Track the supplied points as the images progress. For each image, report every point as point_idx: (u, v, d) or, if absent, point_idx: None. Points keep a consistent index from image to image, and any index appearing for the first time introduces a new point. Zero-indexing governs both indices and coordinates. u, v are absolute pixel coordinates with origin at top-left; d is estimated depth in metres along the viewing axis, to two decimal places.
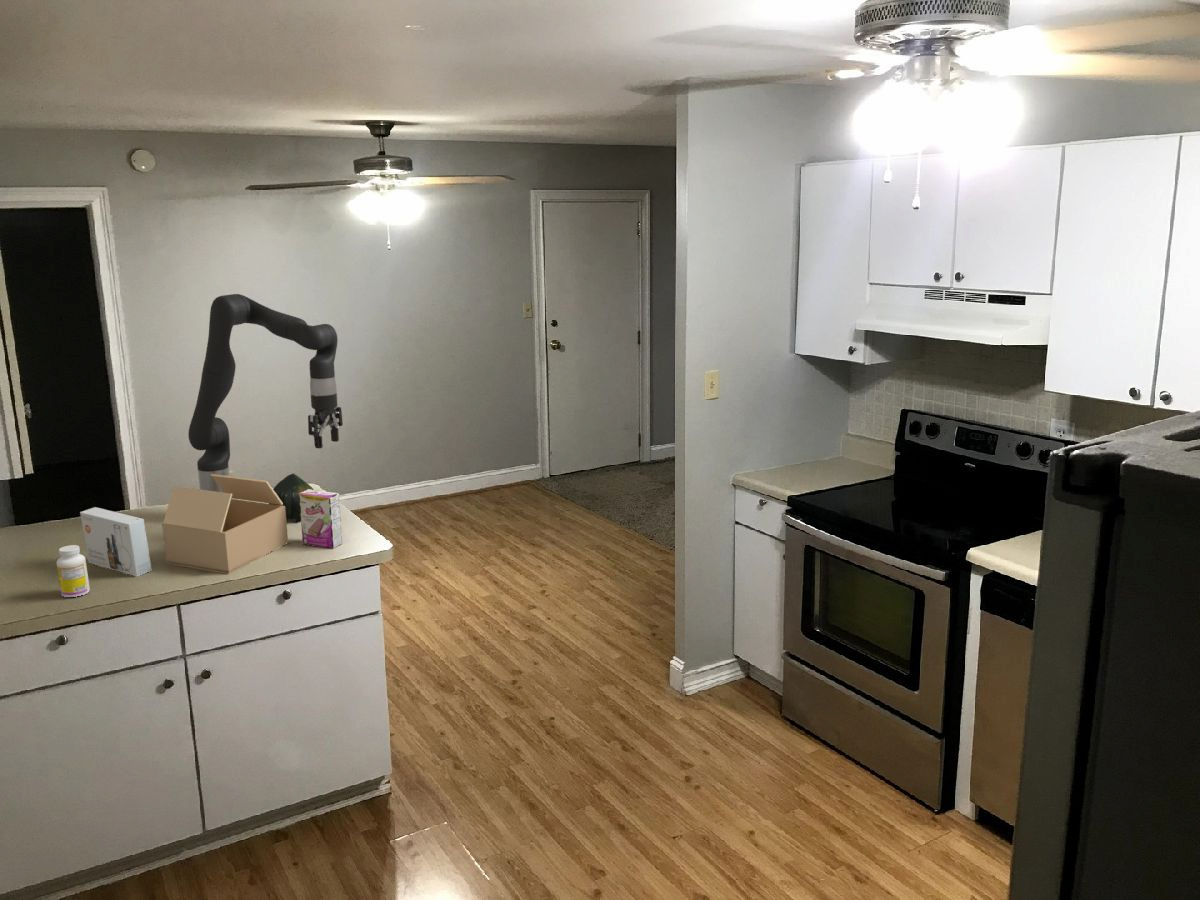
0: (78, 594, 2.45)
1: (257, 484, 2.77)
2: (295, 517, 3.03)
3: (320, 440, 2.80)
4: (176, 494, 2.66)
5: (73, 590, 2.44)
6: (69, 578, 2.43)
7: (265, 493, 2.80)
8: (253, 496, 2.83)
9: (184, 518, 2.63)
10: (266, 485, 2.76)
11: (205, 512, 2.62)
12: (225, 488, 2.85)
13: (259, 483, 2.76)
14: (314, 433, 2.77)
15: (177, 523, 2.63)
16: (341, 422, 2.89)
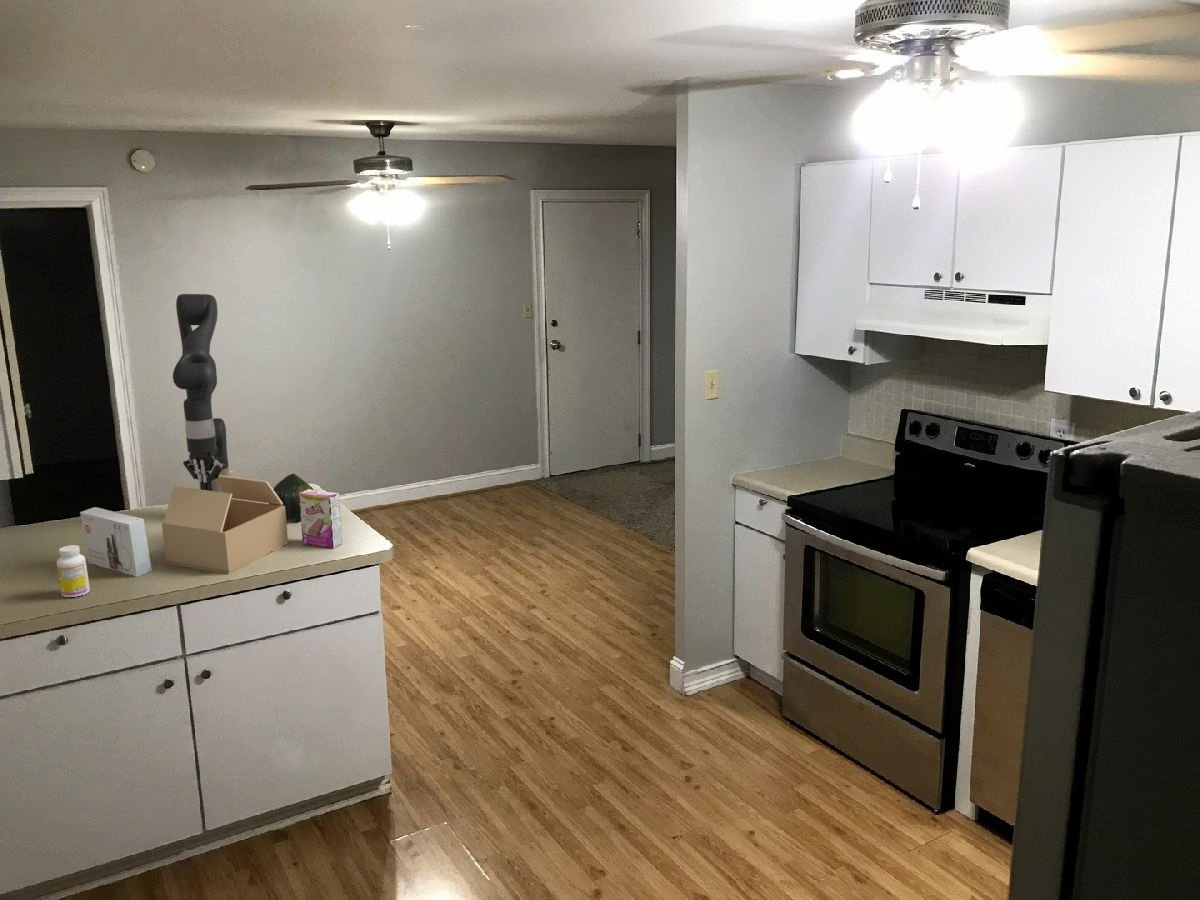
0: (78, 594, 2.45)
1: (257, 484, 2.77)
2: (295, 517, 3.03)
3: None
4: (176, 494, 2.66)
5: (73, 590, 2.44)
6: (69, 578, 2.43)
7: (265, 493, 2.80)
8: (253, 496, 2.83)
9: (184, 518, 2.63)
10: (266, 485, 2.76)
11: (205, 512, 2.62)
12: (225, 488, 2.85)
13: (259, 483, 2.76)
14: (216, 476, 2.64)
15: (177, 523, 2.63)
16: None
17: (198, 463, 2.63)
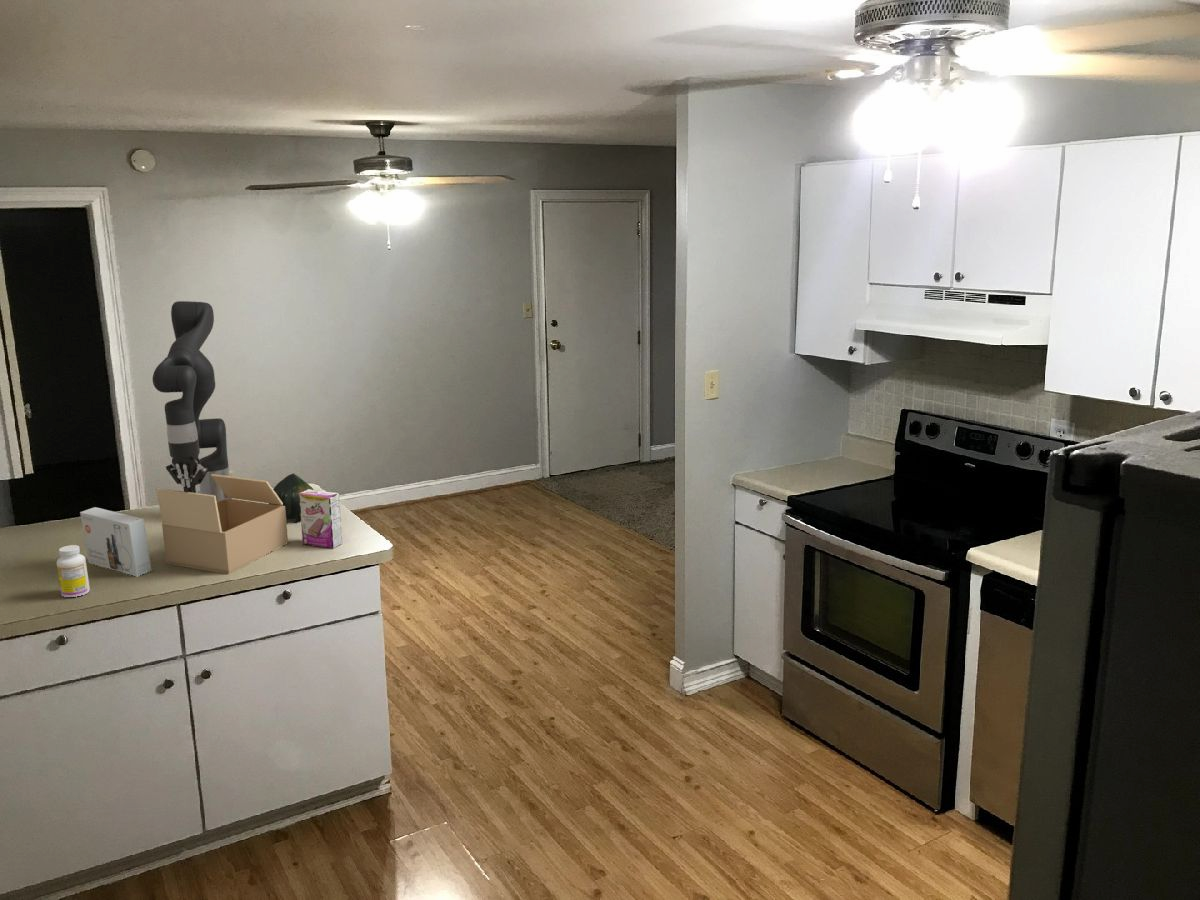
0: (78, 594, 2.45)
1: (257, 484, 2.77)
2: (295, 517, 3.03)
3: None
4: (162, 496, 2.61)
5: (73, 590, 2.44)
6: (69, 578, 2.43)
7: (265, 493, 2.80)
8: (253, 496, 2.83)
9: (181, 520, 2.62)
10: (266, 485, 2.76)
11: (198, 515, 2.59)
12: (225, 488, 2.85)
13: (259, 483, 2.76)
14: (200, 481, 2.58)
15: (176, 524, 2.63)
16: None
17: (181, 468, 2.56)
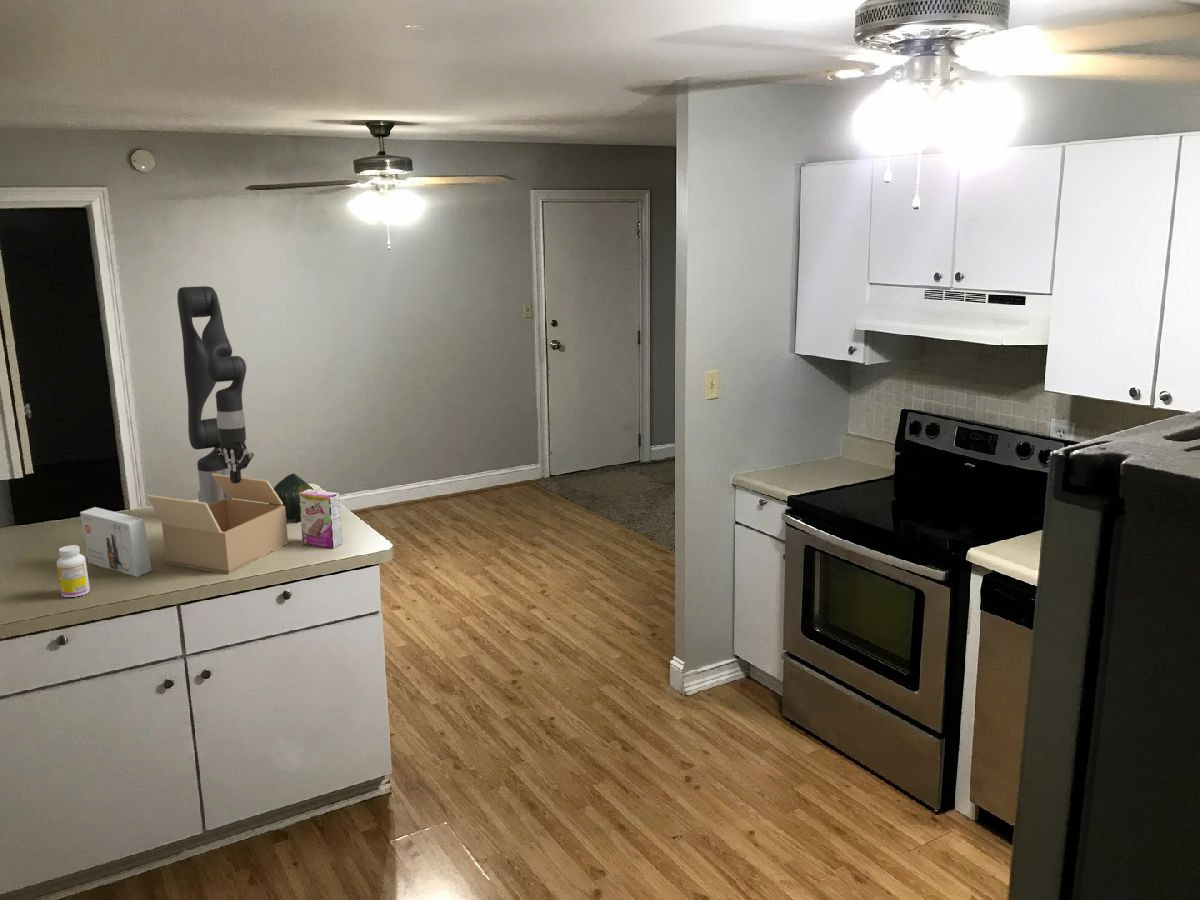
0: (78, 594, 2.45)
1: (257, 483, 2.77)
2: (295, 517, 3.03)
3: None
4: (155, 502, 2.59)
5: (73, 590, 2.44)
6: (69, 578, 2.43)
7: (265, 492, 2.80)
8: (253, 495, 2.83)
9: (179, 522, 2.61)
10: (266, 484, 2.76)
11: (194, 518, 2.58)
12: (225, 488, 2.85)
13: (259, 483, 2.76)
14: (245, 466, 2.75)
15: (176, 525, 2.63)
16: None
17: (228, 452, 2.74)
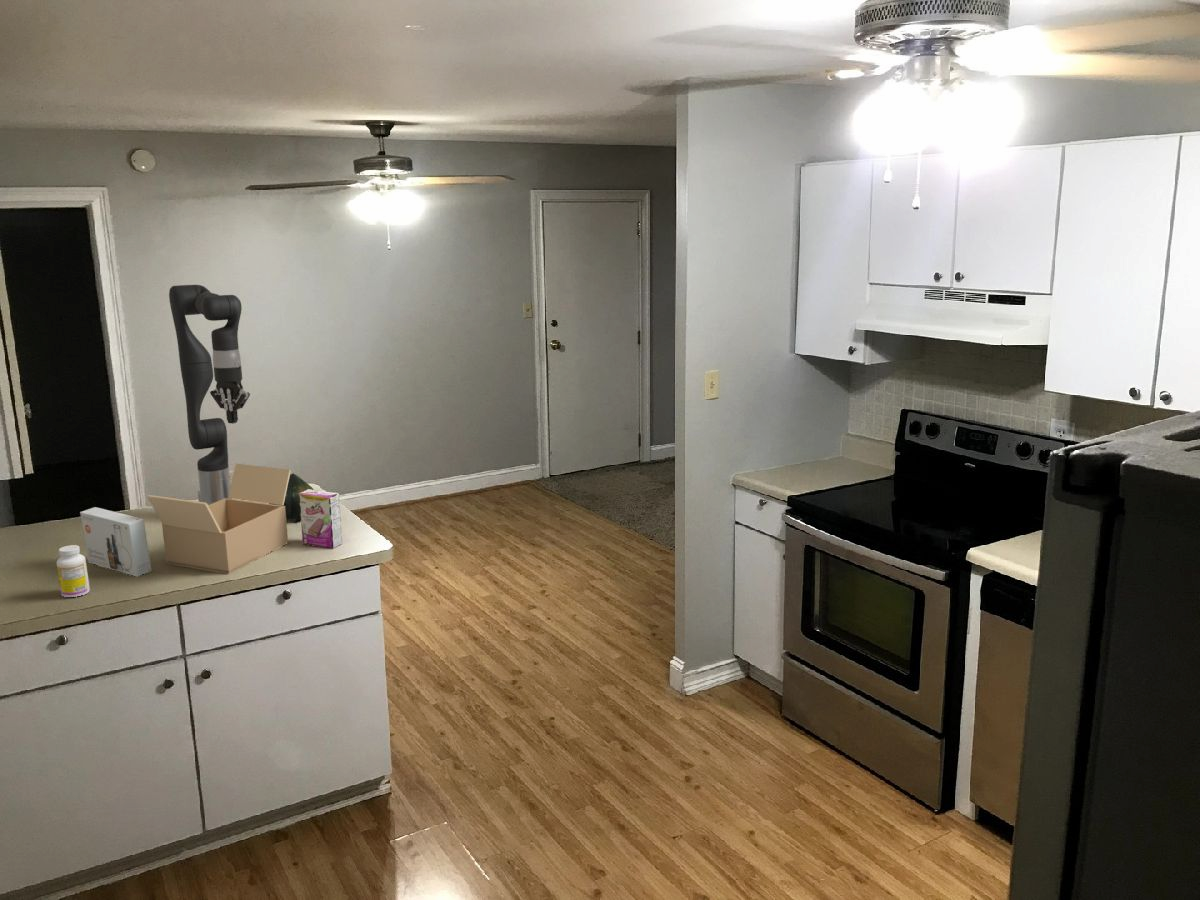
0: (78, 594, 2.45)
1: (277, 473, 2.85)
2: (295, 517, 3.03)
3: None
4: (155, 502, 2.59)
5: (73, 590, 2.44)
6: (69, 578, 2.43)
7: (276, 487, 2.84)
8: (259, 492, 2.86)
9: (179, 522, 2.61)
10: (286, 474, 2.84)
11: (194, 518, 2.58)
12: (236, 482, 2.89)
13: (280, 472, 2.85)
14: (241, 405, 2.76)
15: (176, 525, 2.63)
16: None
17: (224, 392, 2.74)
